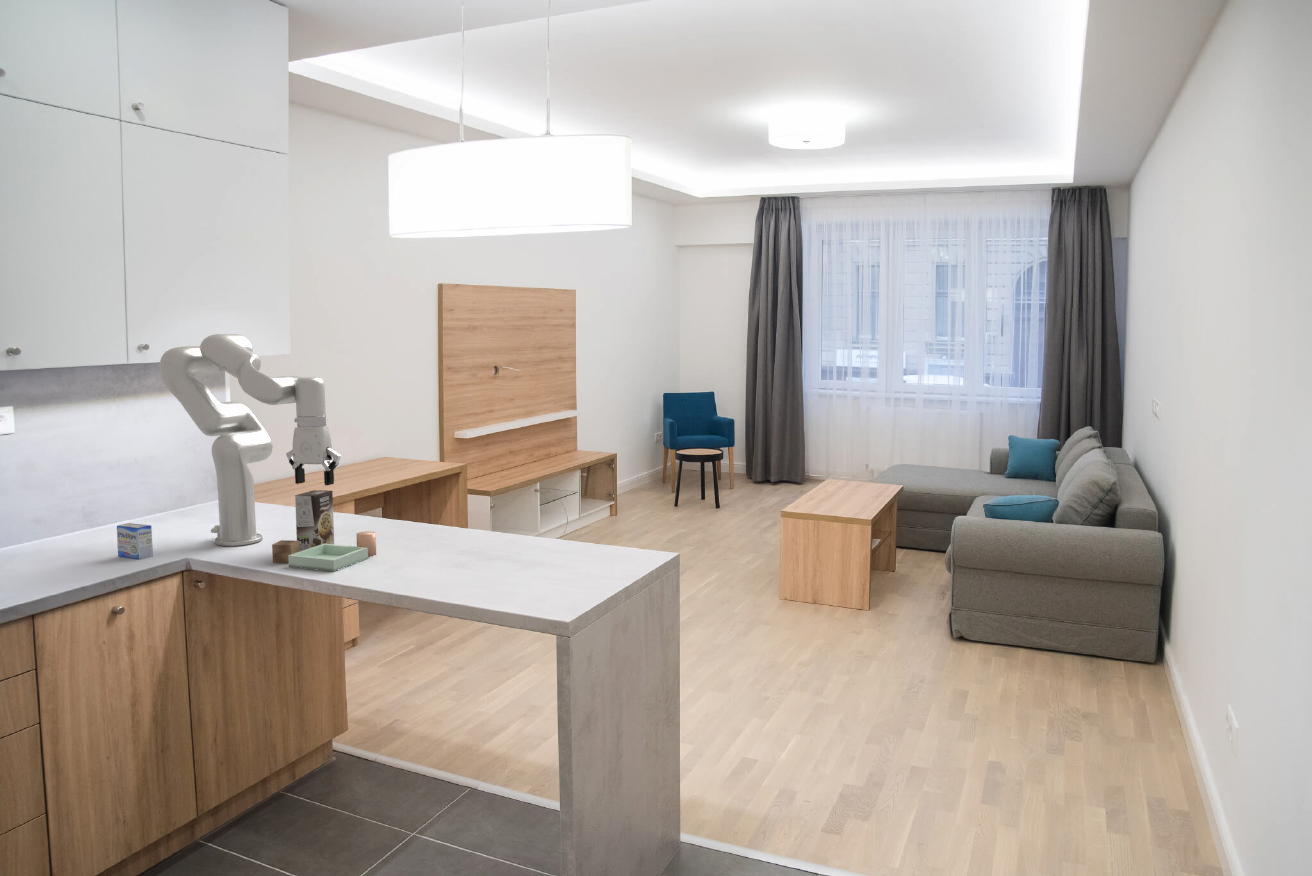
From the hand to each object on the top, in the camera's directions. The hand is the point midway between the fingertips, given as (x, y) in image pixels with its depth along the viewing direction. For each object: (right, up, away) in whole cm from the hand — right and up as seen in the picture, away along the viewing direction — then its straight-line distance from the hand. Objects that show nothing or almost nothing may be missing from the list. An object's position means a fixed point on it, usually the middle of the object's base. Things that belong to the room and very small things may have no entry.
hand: (314, 483), depth 250 cm
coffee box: (0, -19, +2) cm, 19 cm away
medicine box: (-46, -19, -7) cm, 50 cm away
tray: (+8, -20, -12) cm, 25 cm away
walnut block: (-4, -20, -10) cm, 23 cm away
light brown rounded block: (+15, -19, -3) cm, 25 cm away
